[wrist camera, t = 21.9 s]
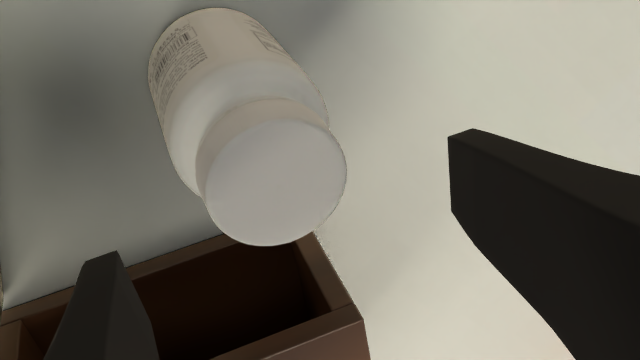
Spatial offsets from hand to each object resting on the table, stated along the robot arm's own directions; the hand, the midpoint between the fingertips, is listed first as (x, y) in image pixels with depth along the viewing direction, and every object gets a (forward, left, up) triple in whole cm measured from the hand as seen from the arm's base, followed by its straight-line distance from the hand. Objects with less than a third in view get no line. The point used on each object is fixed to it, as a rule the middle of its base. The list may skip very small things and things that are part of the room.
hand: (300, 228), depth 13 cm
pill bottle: (0, 0, -10) cm, 10 cm away
